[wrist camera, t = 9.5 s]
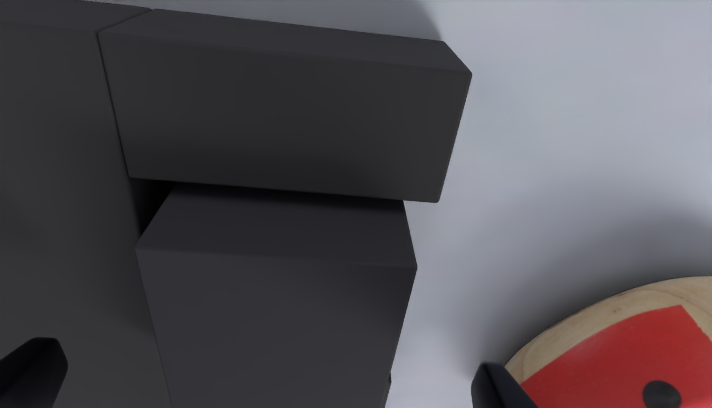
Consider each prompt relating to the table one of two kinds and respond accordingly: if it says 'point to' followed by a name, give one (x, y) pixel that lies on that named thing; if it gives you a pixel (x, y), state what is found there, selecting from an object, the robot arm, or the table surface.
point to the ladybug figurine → (626, 351)
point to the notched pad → (183, 154)
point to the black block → (276, 296)
